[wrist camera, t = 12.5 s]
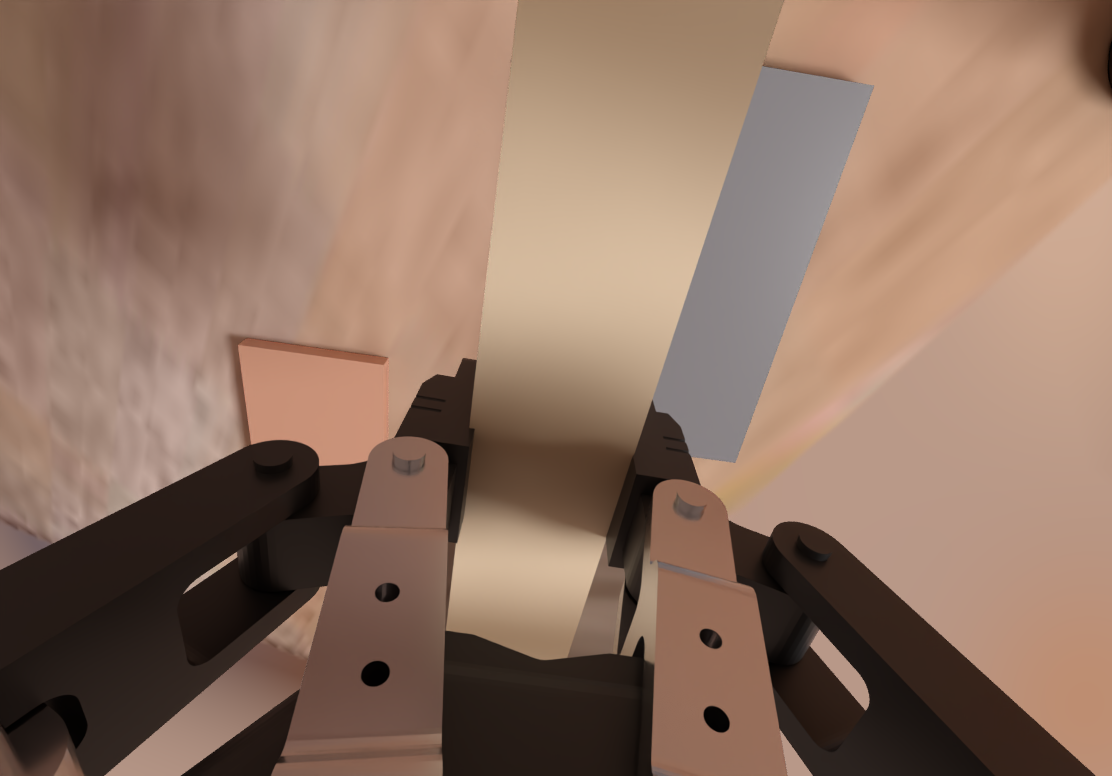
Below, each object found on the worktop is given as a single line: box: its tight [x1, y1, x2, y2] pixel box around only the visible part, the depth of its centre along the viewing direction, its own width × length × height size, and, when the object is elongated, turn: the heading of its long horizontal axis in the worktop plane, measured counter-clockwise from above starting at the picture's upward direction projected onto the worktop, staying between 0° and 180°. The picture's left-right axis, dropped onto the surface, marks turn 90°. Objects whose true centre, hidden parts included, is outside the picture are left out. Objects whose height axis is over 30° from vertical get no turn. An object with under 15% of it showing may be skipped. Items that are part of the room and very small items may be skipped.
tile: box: [238, 338, 389, 466], centre depth 33 cm, size 1×8×10 cm
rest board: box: [653, 66, 874, 463], centre depth 28 cm, size 20×14×1 cm
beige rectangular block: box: [445, 0, 784, 660], centre depth 12 cm, size 15×8×5 cm, turn 170°
